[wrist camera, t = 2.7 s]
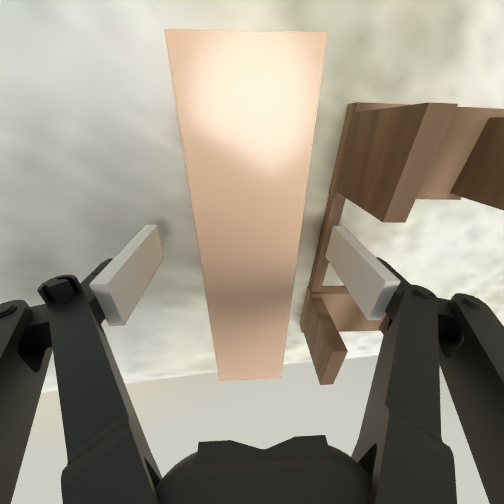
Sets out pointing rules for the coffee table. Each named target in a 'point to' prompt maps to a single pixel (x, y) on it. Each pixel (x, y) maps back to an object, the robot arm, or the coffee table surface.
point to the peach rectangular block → (247, 178)
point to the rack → (397, 194)
